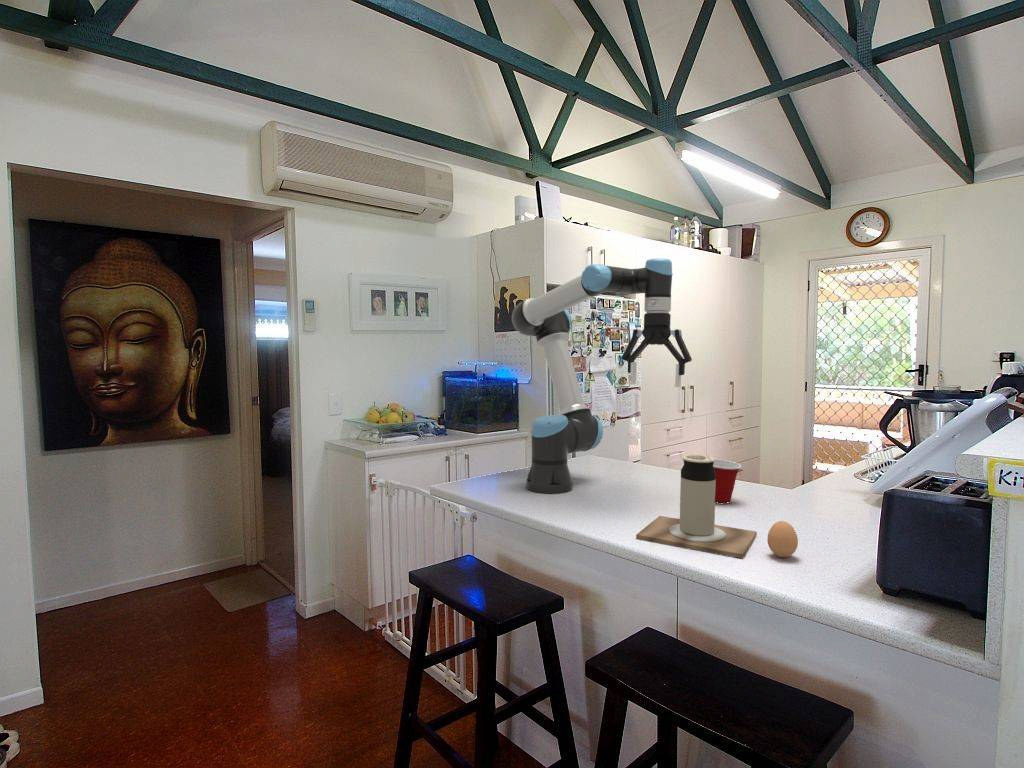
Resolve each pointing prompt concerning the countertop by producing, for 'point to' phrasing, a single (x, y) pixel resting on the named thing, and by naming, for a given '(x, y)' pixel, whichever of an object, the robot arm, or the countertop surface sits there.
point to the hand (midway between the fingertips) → (654, 385)
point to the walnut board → (699, 537)
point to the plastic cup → (725, 479)
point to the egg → (782, 539)
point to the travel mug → (697, 495)
